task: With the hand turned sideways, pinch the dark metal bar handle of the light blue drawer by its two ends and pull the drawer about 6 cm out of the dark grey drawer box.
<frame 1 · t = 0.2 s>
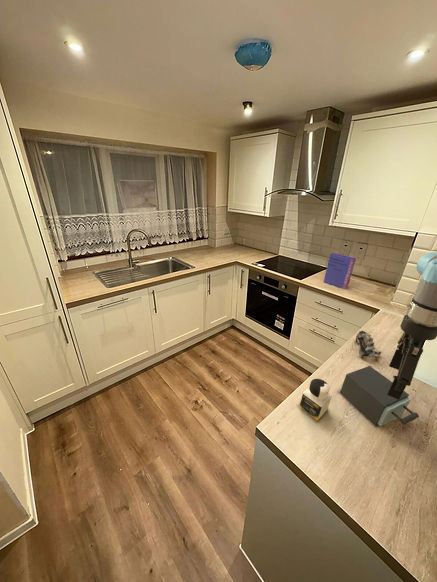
hand: (393, 381, 69), 21 cm above the worktop, tool pointing down, fingers open, 13 cm apart
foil: (364, 352, 114), on the worktop
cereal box: (335, 285, 188), on the worktop
dark grey drawer box: (368, 402, 87), on the worktop
medicine bottle: (313, 408, 84), on the worktop
light blue drawer: (382, 402, 82), point 5 cm above the worktop, slide at 0.0 cm
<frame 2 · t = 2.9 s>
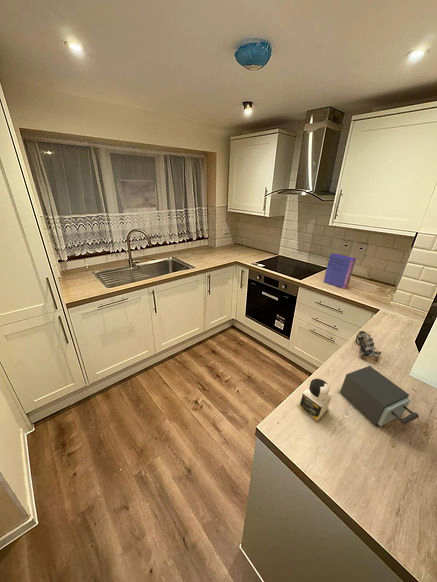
nothing on the worktop moved.
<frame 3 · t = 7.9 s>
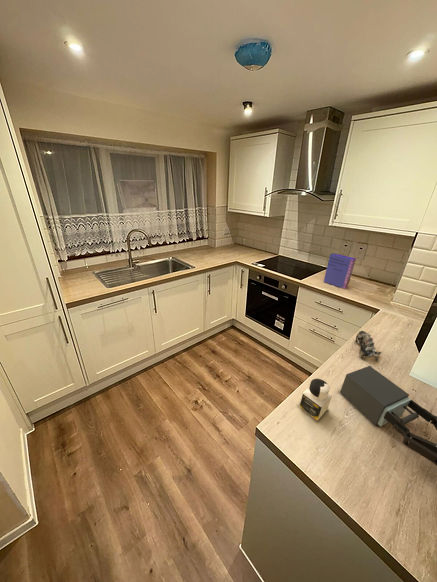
hand: (397, 408, 77), 7 cm above the worktop, tool horizontal, fingers closed on light blue drawer, 11 cm apart
light blue drawer: (382, 402, 82), point 5 cm above the worktop, slide at 0.0 cm, touching dark grey drawer box, gripper
everything else where it was.
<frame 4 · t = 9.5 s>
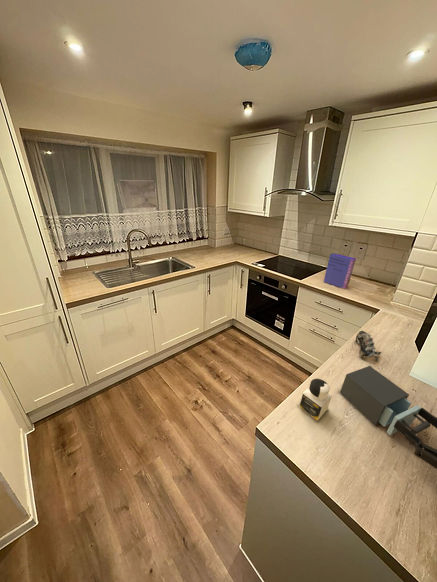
hand: (408, 416, 75), 7 cm above the worktop, tool horizontal, fingers closed on light blue drawer, 11 cm apart
light blue drawer: (391, 409, 79), point 5 cm above the worktop, slide at 3.3 cm, touching gripper
everything else where it was.
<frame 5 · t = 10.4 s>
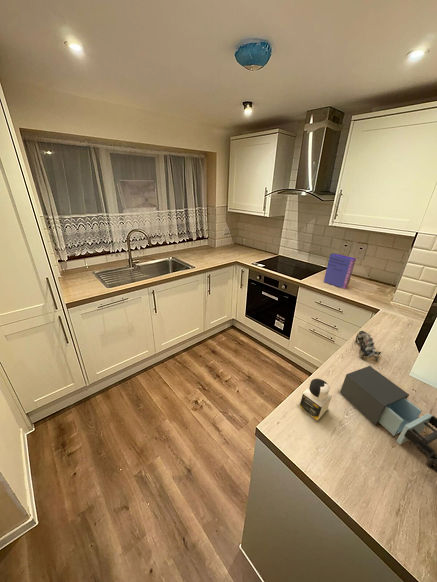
hand: (418, 425, 72), 7 cm above the worktop, tool horizontal, fingers closed on light blue drawer, 11 cm apart
light blue drawer: (401, 417, 77), point 5 cm above the worktop, slide at 6.4 cm, touching gripper
everything else where it was.
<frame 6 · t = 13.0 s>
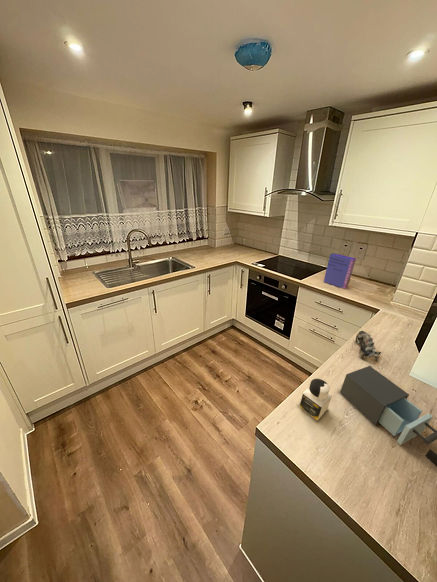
light blue drawer: (401, 418, 76), point 5 cm above the worktop, slide at 6.5 cm
everything else where it was.
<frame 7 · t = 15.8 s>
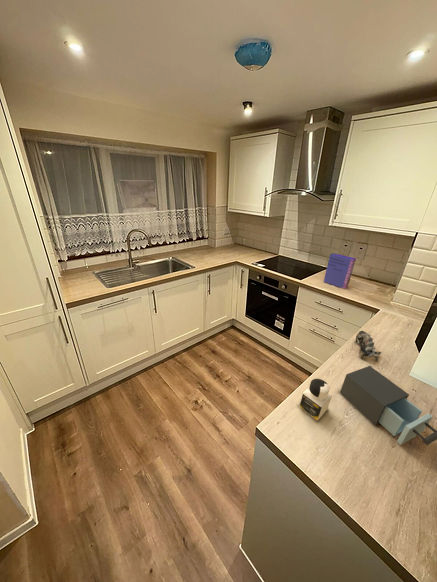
nothing on the worktop moved.
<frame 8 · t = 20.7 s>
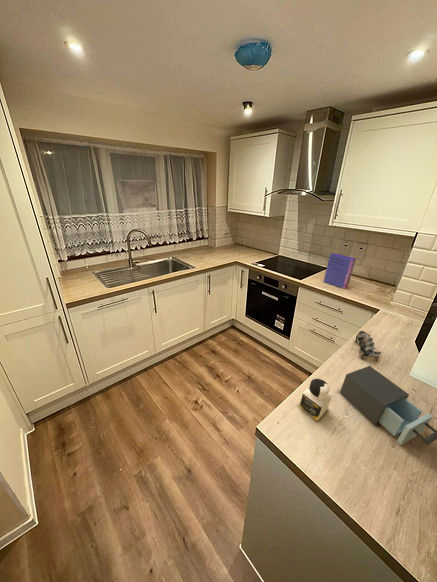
nothing on the worktop moved.
at the end: light blue drawer slide at 6.5 cm; the gripper is holding nothing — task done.
